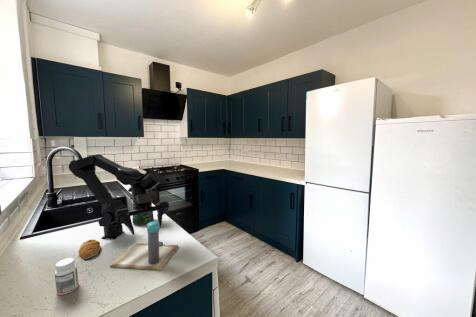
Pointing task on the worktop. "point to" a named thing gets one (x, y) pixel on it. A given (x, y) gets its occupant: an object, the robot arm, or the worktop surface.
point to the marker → (153, 242)
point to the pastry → (89, 249)
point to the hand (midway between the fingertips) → (147, 231)
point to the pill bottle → (66, 276)
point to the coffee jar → (142, 215)
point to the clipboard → (144, 257)
